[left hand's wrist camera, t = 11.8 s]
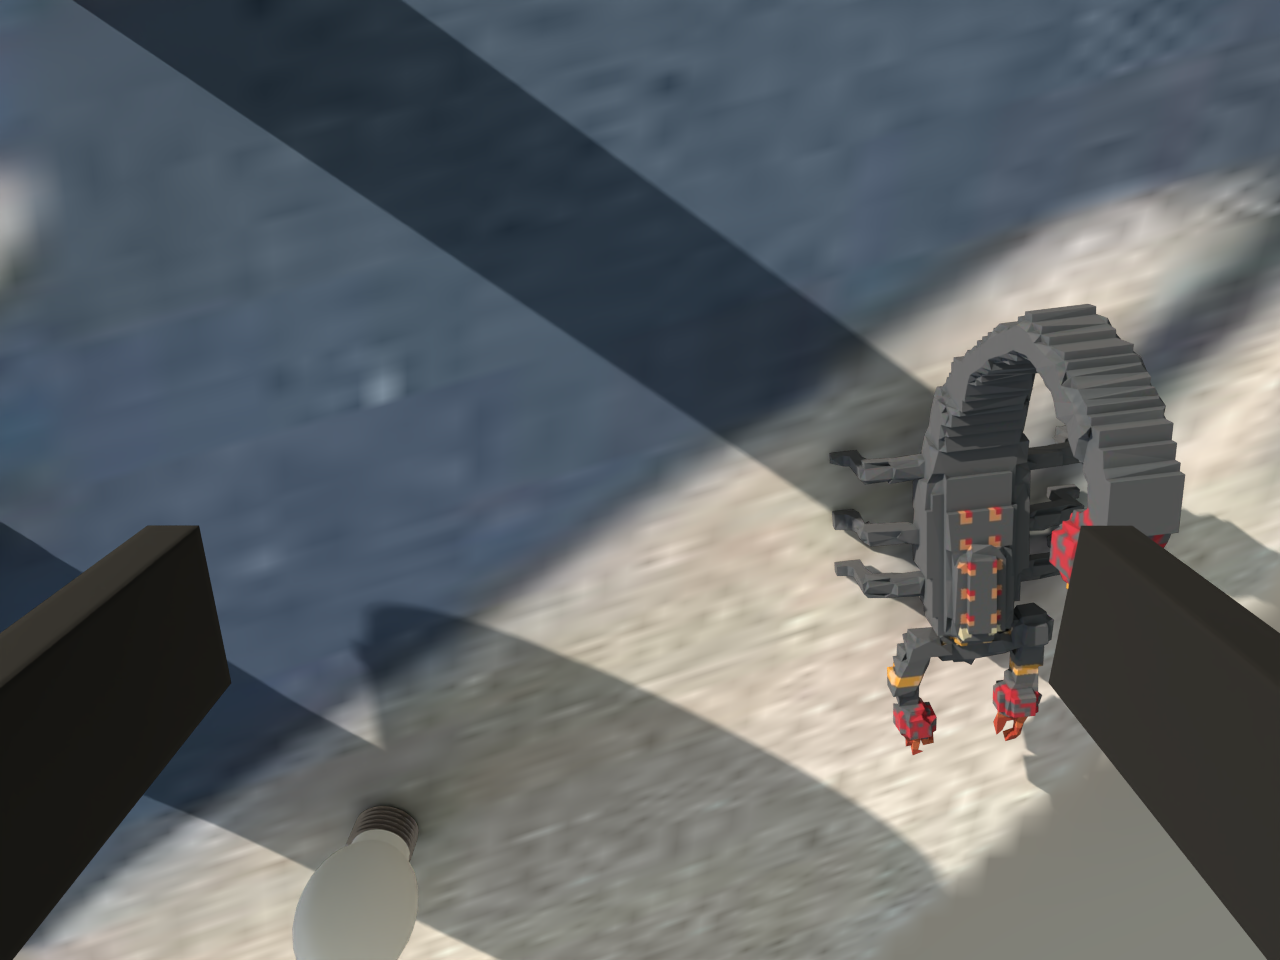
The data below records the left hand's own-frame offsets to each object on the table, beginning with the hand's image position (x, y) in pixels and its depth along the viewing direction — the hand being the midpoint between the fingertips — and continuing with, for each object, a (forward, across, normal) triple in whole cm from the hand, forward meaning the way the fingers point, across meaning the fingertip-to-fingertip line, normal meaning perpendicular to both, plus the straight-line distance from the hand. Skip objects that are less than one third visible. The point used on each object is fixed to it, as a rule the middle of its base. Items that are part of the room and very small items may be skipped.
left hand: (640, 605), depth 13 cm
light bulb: (+32, +16, +34) cm, 50 cm away
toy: (+32, -17, +13) cm, 39 cm away
